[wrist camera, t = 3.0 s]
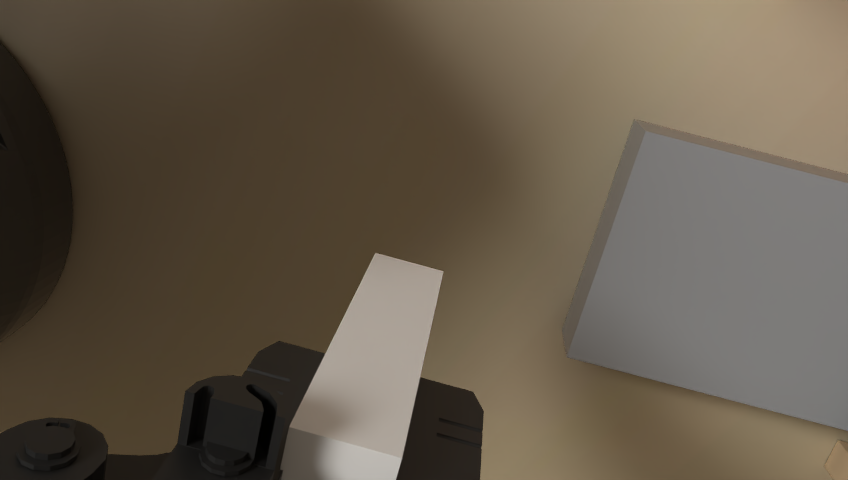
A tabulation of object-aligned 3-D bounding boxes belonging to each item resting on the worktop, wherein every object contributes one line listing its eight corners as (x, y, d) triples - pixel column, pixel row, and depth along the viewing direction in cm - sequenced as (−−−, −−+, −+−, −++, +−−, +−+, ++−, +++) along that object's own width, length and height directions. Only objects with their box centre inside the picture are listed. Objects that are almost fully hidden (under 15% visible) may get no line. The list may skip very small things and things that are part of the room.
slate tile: (560, 324, 27) (566, 357, 25) (631, 116, 25) (645, 130, 22) (822, 393, 27) (853, 432, 25) (923, 191, 24) (968, 214, 22)
